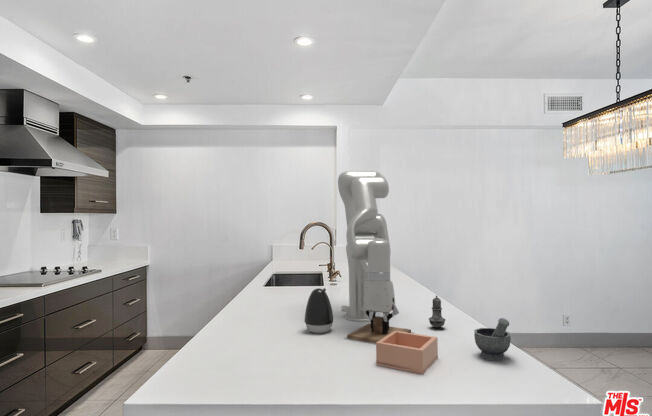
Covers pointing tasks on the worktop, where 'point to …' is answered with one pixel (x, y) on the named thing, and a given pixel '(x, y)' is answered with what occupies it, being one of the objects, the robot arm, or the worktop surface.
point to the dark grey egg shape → (318, 312)
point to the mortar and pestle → (493, 340)
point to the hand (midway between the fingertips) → (379, 331)
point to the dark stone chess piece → (437, 315)
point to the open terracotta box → (407, 351)
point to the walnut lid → (376, 335)
